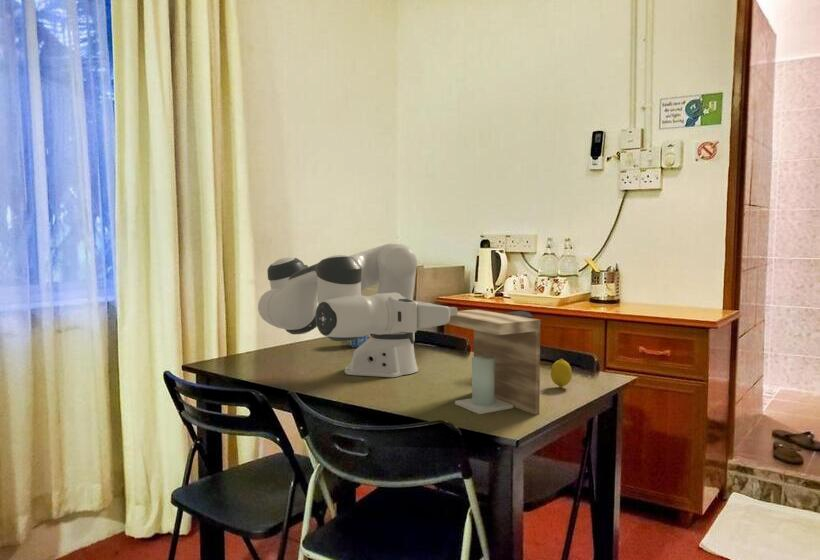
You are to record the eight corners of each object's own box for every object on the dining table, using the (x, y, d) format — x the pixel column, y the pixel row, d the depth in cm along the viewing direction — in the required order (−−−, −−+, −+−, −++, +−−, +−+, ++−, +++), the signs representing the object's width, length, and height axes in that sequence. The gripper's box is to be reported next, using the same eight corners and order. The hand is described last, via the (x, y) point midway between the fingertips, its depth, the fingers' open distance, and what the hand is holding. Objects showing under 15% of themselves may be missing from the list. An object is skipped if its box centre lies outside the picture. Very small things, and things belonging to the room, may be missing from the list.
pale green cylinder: (472, 405, 146) (472, 360, 145) (471, 399, 151) (471, 355, 150) (495, 406, 145) (495, 360, 144) (494, 399, 151) (494, 355, 150)
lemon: (567, 391, 162) (568, 361, 161) (547, 388, 165) (548, 359, 164) (574, 387, 167) (574, 358, 166) (554, 384, 170) (554, 356, 169)
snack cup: (347, 350, 222) (347, 322, 221) (332, 346, 230) (331, 319, 229) (382, 345, 231) (382, 318, 231) (366, 341, 240) (366, 316, 239)
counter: (498, 422, 135) (499, 323, 134) (439, 397, 156) (439, 312, 155) (539, 413, 141) (540, 319, 140) (477, 391, 162) (477, 309, 161)
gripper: (369, 321, 142) (420, 317, 149) (414, 333, 124) (469, 328, 131) (369, 294, 141) (420, 291, 148) (414, 303, 124) (469, 298, 131)
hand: (443, 308), depth 140 cm, fingers open, 8 cm apart
